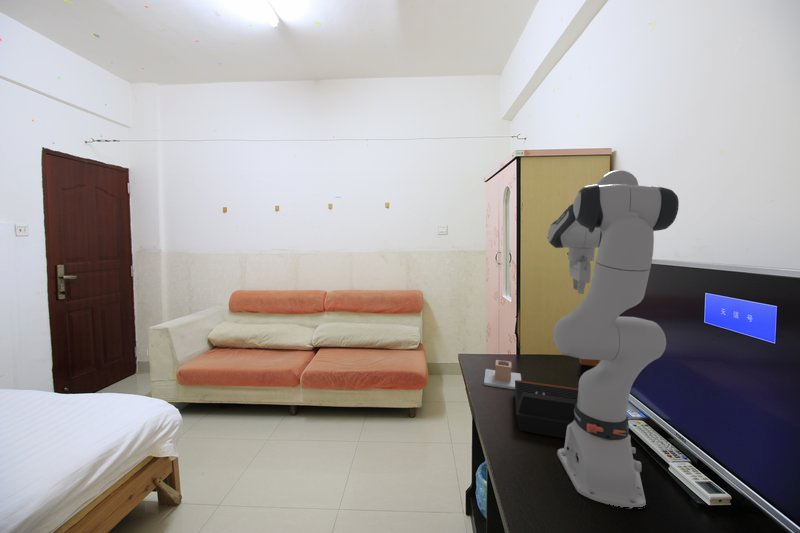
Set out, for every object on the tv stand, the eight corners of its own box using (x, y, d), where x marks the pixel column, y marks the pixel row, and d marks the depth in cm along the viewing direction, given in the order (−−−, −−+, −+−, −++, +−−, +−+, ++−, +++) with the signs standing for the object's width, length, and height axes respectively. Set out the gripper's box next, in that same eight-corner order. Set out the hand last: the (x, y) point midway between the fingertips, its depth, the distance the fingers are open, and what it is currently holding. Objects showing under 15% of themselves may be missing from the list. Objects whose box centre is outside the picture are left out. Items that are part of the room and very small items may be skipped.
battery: (598, 379, 143) (600, 356, 142) (580, 377, 144) (581, 354, 143) (595, 375, 147) (597, 352, 146) (577, 373, 149) (579, 350, 148)
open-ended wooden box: (510, 382, 136) (511, 367, 136) (494, 379, 138) (495, 365, 137) (510, 376, 142) (511, 361, 141) (495, 373, 144) (495, 359, 143)
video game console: (600, 408, 120) (602, 380, 119) (622, 452, 97) (626, 418, 95) (514, 395, 129) (515, 369, 128) (515, 432, 105) (516, 401, 104)
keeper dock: (521, 390, 132) (523, 370, 131) (483, 385, 136) (484, 365, 135) (520, 375, 145) (521, 357, 144) (485, 371, 149) (486, 353, 148)
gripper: (596, 258, 122) (593, 297, 124) (584, 254, 142) (581, 287, 143) (577, 257, 124) (574, 295, 125) (567, 253, 143) (565, 286, 145)
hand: (578, 291), depth 134 cm, fingers open, 8 cm apart
